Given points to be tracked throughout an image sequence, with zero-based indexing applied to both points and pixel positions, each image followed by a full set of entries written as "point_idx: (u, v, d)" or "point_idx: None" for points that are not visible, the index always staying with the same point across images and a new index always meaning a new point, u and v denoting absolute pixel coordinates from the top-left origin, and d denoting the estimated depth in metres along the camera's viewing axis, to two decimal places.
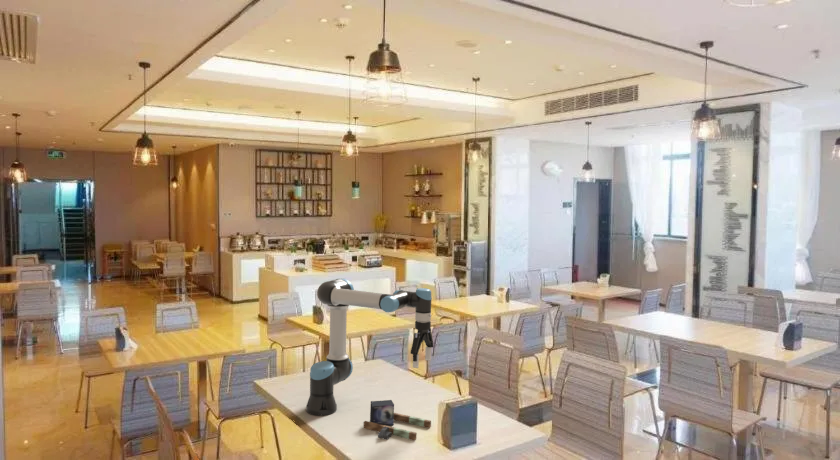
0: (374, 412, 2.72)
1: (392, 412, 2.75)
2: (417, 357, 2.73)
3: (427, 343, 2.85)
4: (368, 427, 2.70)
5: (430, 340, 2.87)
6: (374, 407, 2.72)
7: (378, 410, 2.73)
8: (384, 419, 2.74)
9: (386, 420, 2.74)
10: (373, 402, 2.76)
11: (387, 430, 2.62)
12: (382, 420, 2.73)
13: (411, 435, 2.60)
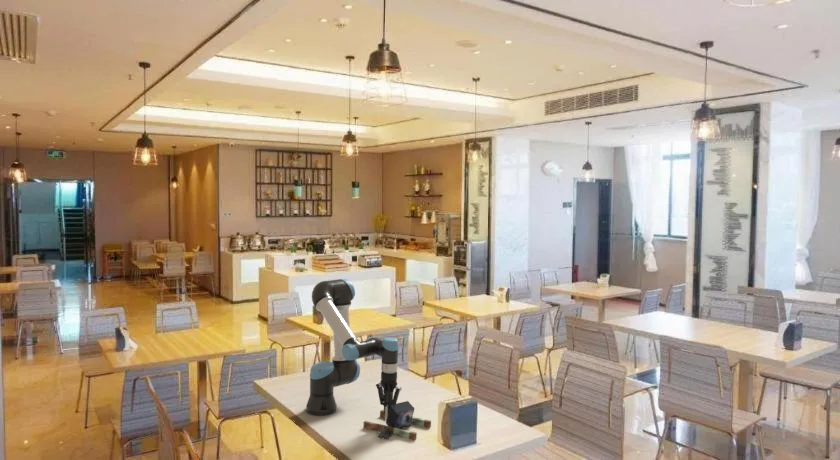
0: (396, 418, 2.67)
1: (411, 415, 2.72)
2: (385, 410, 2.74)
3: None
4: (368, 427, 2.70)
5: (393, 400, 2.72)
6: (397, 413, 2.66)
7: (400, 416, 2.68)
8: (404, 422, 2.71)
9: (405, 423, 2.72)
10: (393, 406, 2.69)
11: (387, 430, 2.62)
12: (401, 423, 2.70)
13: (411, 435, 2.60)
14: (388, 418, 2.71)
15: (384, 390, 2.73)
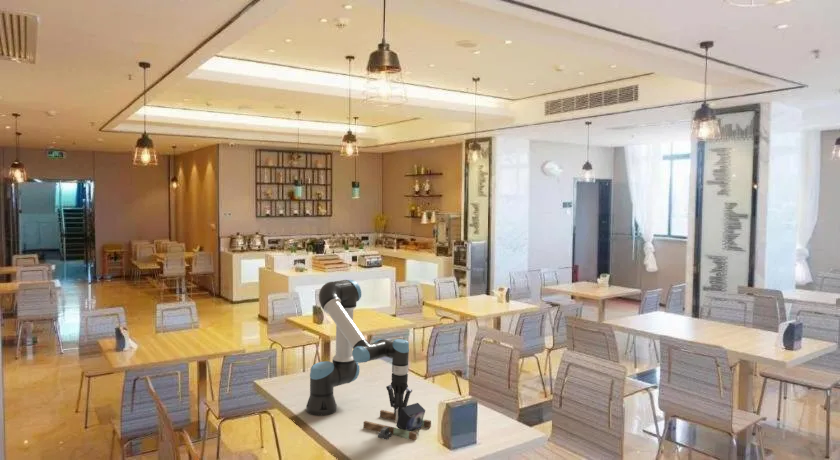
0: (408, 420, 2.65)
1: (422, 417, 2.70)
2: (396, 412, 2.71)
3: None
4: (368, 427, 2.70)
5: None
6: (409, 416, 2.64)
7: (412, 418, 2.65)
8: (415, 424, 2.69)
9: (416, 425, 2.70)
10: (405, 409, 2.67)
11: (387, 430, 2.62)
12: (413, 426, 2.68)
13: (411, 435, 2.60)
14: (399, 421, 2.68)
15: (394, 392, 2.70)
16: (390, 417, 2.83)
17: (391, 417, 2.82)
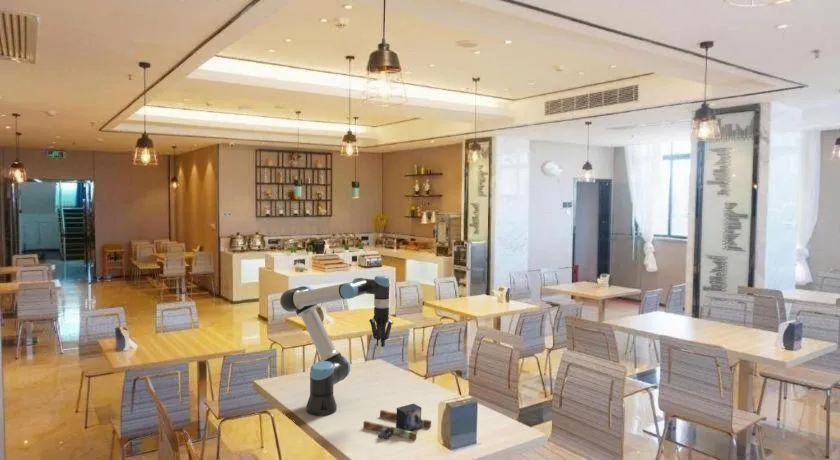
0: (405, 418, 2.66)
1: (420, 415, 2.72)
2: (378, 343, 2.92)
3: None
4: (368, 427, 2.70)
5: None
6: (405, 413, 2.66)
7: (409, 415, 2.67)
8: (414, 423, 2.69)
9: (415, 424, 2.70)
10: (400, 408, 2.69)
11: (387, 430, 2.62)
12: (411, 425, 2.69)
13: (411, 435, 2.60)
14: (397, 422, 2.69)
15: (377, 324, 2.91)
16: (390, 417, 2.83)
17: (391, 417, 2.82)
